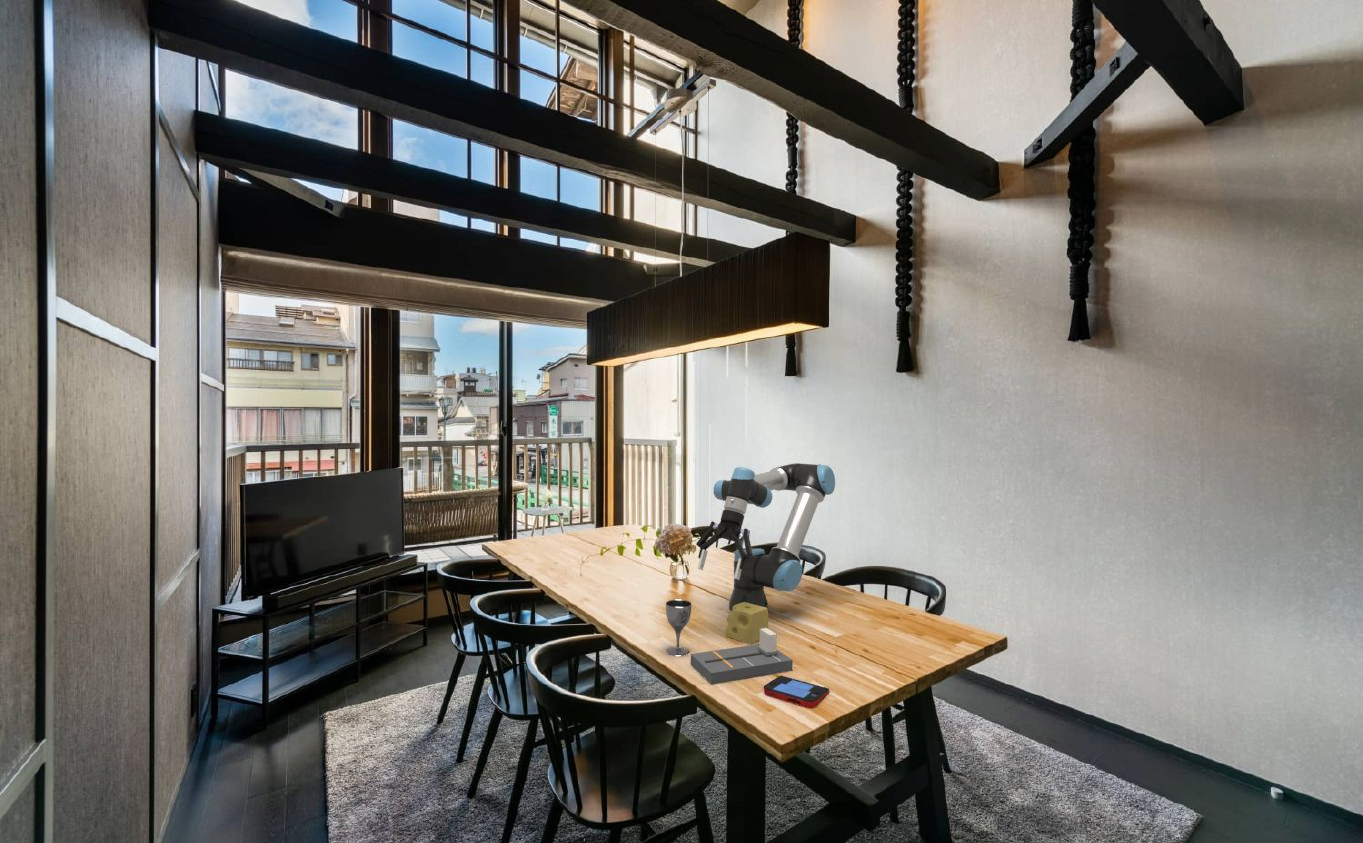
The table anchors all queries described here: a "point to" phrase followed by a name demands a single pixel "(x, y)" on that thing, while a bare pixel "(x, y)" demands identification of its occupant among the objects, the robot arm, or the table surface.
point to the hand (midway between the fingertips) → (717, 574)
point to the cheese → (746, 622)
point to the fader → (768, 642)
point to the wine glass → (678, 621)
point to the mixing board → (738, 663)
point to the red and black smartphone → (795, 691)
